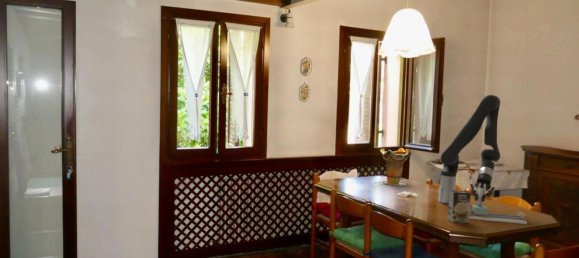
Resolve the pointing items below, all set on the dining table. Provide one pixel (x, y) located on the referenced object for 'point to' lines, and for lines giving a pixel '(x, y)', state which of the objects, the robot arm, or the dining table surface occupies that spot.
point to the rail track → (500, 217)
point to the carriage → (480, 204)
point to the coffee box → (459, 206)
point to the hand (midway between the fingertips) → (479, 200)
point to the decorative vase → (395, 165)
